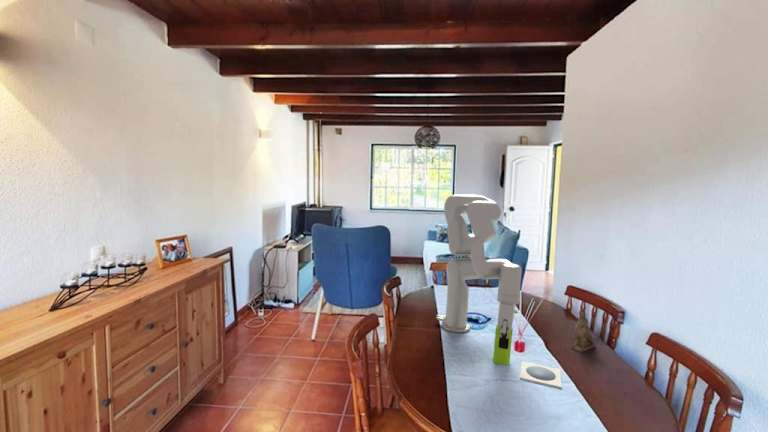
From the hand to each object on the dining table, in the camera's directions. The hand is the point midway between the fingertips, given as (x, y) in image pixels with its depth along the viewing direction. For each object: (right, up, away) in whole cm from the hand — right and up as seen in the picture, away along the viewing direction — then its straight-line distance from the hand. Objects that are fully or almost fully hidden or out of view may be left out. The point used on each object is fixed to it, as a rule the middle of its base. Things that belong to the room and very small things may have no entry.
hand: (504, 344), depth 142 cm
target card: (+10, -8, -8) cm, 15 cm away
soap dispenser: (0, -7, +1) cm, 7 cm away
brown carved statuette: (+38, -7, +17) cm, 42 cm away
